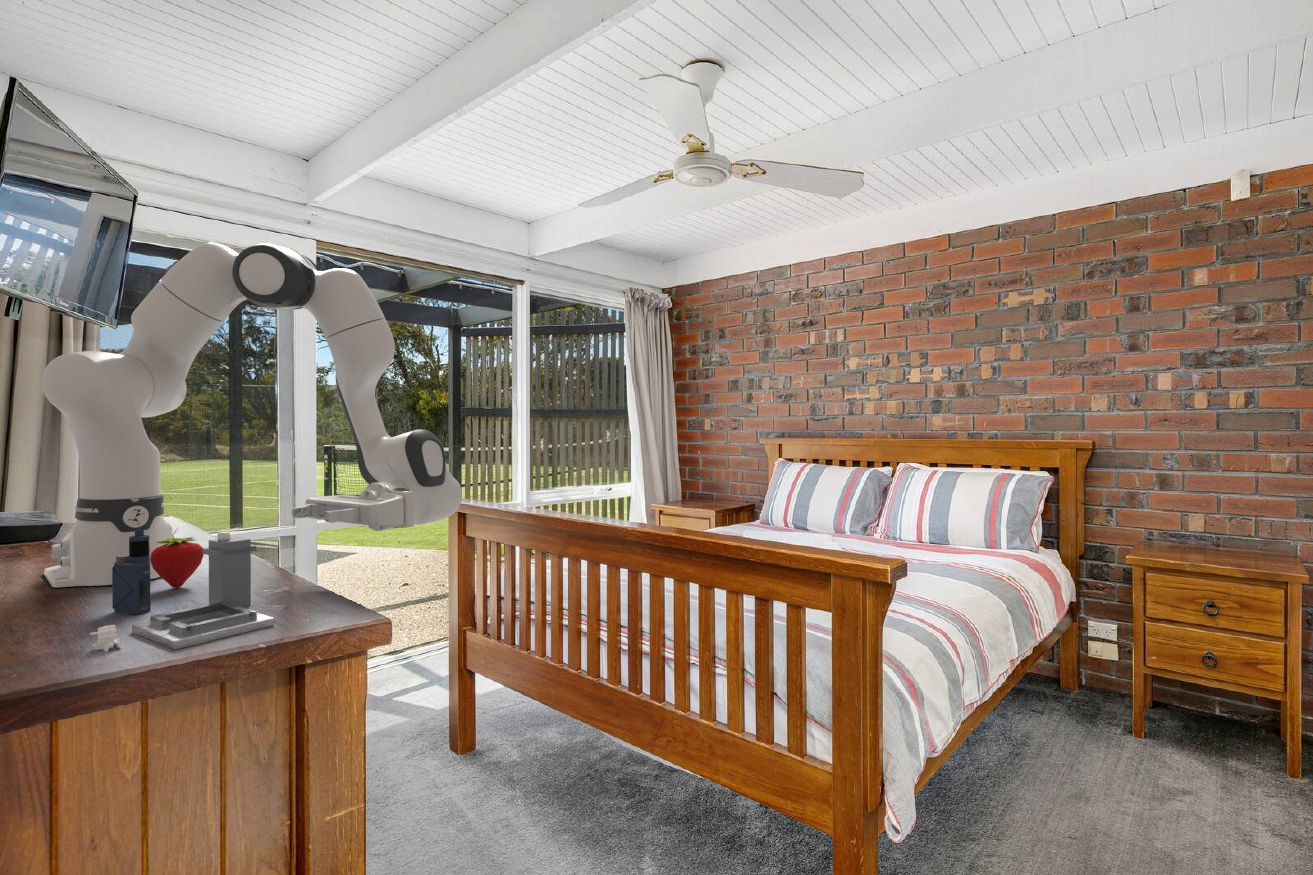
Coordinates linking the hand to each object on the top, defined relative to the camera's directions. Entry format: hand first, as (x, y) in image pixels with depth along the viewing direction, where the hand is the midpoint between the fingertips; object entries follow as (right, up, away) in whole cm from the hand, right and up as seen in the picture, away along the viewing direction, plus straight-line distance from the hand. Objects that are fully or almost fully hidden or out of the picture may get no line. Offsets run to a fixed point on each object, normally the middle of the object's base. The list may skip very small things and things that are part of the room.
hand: (310, 515), depth 112 cm
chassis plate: (-3, -13, -21) cm, 25 cm away
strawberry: (-22, -12, 0) cm, 25 cm away
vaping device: (-19, -13, -14) cm, 27 cm away
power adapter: (-9, -14, -30) cm, 34 cm away
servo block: (-7, -12, -10) cm, 17 cm away
